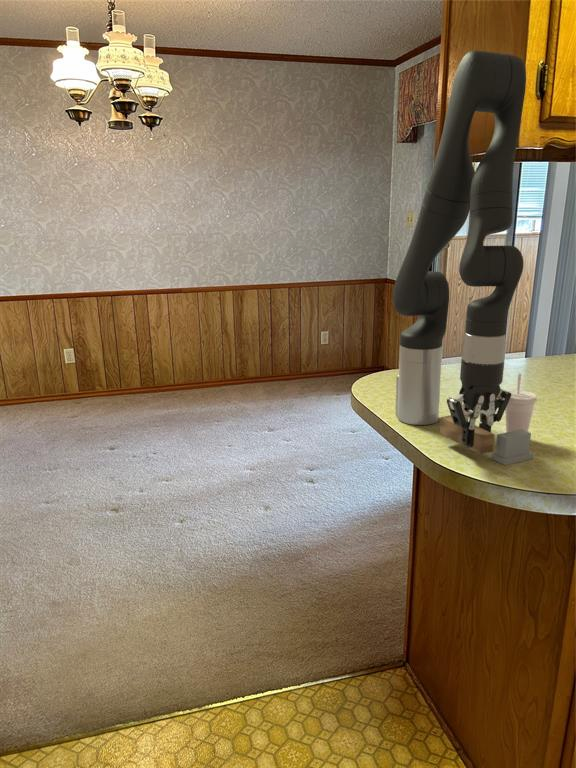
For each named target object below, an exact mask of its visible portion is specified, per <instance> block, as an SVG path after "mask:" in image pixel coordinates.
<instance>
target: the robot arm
mask: <svg viewBox="0 0 576 768" xmlns="http://www.w3.org/2000/svg"><path fill="white" fill-rule="evenodd" d="M451 85H452V86H451V91H450V95H449V99H448V104H447V110H446V115H445V119H444V124H443V128H442V129H443V130H442V134H441V136H440V137H441V138H440V140H439V141H440V142H439V146H438V149H437V153H436V155H435V159H434V163H433V167H432V170H431V173H430V177H429V179H428V181H427V184H426V188H425V189H426V190H425V192H424V195H423V199H422V202H421V206H420V211H419V214H418V217H417V222H416V224H415V228H414V231H413V234H412V238H411V240H410V244H409V246H408V249H407V251H406V254H405V256H404V258H403V261H402V264H401V266H400V269H399V272H398V273H397V276H396V280H395V282H394V286H393V291H392V292H393V293H392V303H393V307H394V310H395V311H396V312H397V314H399V315H401V316H404V317H405V316H406V317H413V316H414V317H416V316H418V318H417V320H416V321H415V322H414V323H413V324H412V325H410V326H409V327H408V328H406V329H403V330H402V331H401V333H400V335H399V352H398V353H399V354H398V356H399V357H398V375H396V381H395V382H396V386H395V388H396V389H395V415H396V416H397V420H399V421H400V422H402V423H405V424H408V425H413V426H414V425H416V426H426V425H432V424H435V423H438V421H439V418H440V397H441V394H440V393H441V375H442V374H441V373H442V357H443V356H442V354H443V339H444V337H445V335H446V333H447V325H448V324H447V321H448V316H449V315H448V314H449V313H448V312H449V308H450V307H449V305H450V284H449V282H448V280H447V277H446V275H444V274H443V273H442V272H440V271H434V270H433V271H432V270H431V271H430V268H431V266H432V264H433V263H434V261H435V259H436V258H437V256H438V255H439V254H440V253H441V251H442V250H443V249H444V248H446V246H447V245H448V244H449V243H450V242H451V240H453V239H454V238H455V236H456V235H457V234H458V233H459V232H460V231H461V229H462V228H463V227H464V225H465V223H466V221H467V220H468V217H469V226H468V231H467V236H466V242H465V245H464V249H463V251H462V253H461V258H460V260H459V261H460V262H459V268H458V269H459V270H458V271H459V276H460V279H461V281H462V282H463V283H464V284H465V285H466V286H467V287H476V288H478V287H479V288H480V287H495V288H494V289H493V292H492V293H491V294H489V295H488V296H485V297H482V298H477V299H474V300H472V301H470V302H469V303H468V304H467V307H466V316H465V327H464V337H463V342H462V349H461V359H460V360H461V361H460V374H459V379H460V382H461V388H460V390H459V392H458V395H456V396H455V397H453V398H452V397H448V398H447V399H446V403H447V406H448V409H449V413H450V415H451V416H452V419H453V423H454V424H456V425H458V426H460V427H461V428H462V443H463V445H465V446H466V447H465V446H464V447H465V448H467V447H468V449H469V448H471V447H473V443H474V433H475V430H474V426H475V425H476V421H477V419H479V423H478V427H480V428H482V429H484V430H486V431H488V432H491V433H492V426H493V425H494V424H495V423H496V422H501V420H502V418H503V416H504V414H505V409H506V407H507V404H508V402H509V400H510V398H511V393H510V392H508V391H507V390H504V389H501V386H500V385H502V383H503V379H504V369H505V358H506V351H507V350H506V347H507V346H506V340H507V339H506V337H507V336H506V331H507V324H508V323H507V322H508V313H509V309H510V307H511V304H512V300H513V298H514V294H515V292H516V290H517V287H518V284H519V282H520V280H521V277H522V274H523V272H524V267H525V266H524V263H525V262H524V258H523V257H524V256H523V254H522V252H521V250H520V249H519V248H518V247H516V246H514V245H484V242H485V239H486V237H487V236H490V235H493V234H499V233H503V232H505V231H508V229H510V228H511V226H512V225H513V224H512V223H513V205H514V203H513V198H514V197H513V191H514V190H513V189H514V187H513V183H514V168H515V167H514V166H515V165H514V164H515V158H516V151H517V145H518V140H519V135H520V129H521V128H520V127H521V122H522V116H523V109H524V103H525V102H524V101H525V96H526V90H527V89H526V88H527V87H526V86H527V70H526V65H525V62H524V60H523V59H522V58H520V56H518V55H514V54H509V53H501V52H493V51H488V50H486V51H485V50H477V49H476V50H475V49H474V50H471V51H468V52H467V53H466V54H465V55H464V56H463V57H462V59H461V60H460V63H459V64H458V67H457V68H456V72H455V74H454V78H453V83H452V84H451ZM476 112H480V113H492V114H493V116H494V130H493V131H494V132H493V135H492V138H491V141H490V144H489V145H488V148H487V150H486V152H485V153H484V155H483V157H482V158H481V160H480V162H479V163H478V166H477V167H476V169H475V168H474V163H473V161H472V160H473V159H472V157H471V152H470V145H469V139H470V138H469V137H470V130H471V126H472V121H473V118H474V115H475V113H476ZM463 445H462V446H463Z"/></svg>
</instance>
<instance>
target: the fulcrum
mask: <svg viewBox="0 0 576 768" xmlns="http://www.w3.org/2000/svg"><path fill="white" fill-rule="evenodd" d="M496 436H497V437H496V446H495V447H496V448H495V452H493V453H492V452H491V455H490V457H491V458H490V459H492V460H493V461H495V462H498V463H500V464H502V465H504V466H507V465H511V464H515V463H519V462H522V461H527V460H528V461H529V460H532V459H534V452H531V451H530V448H531V447H530V446H531V438H532V437H531V436H532V433H531V432H529V431H528V432H527V431H524V430H522V429H520V430H516V431H511V432H507V433H506V432H503V433H498V434H497V435H496Z"/></svg>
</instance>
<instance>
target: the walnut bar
mask: <svg viewBox="0 0 576 768" xmlns="http://www.w3.org/2000/svg"><path fill="white" fill-rule="evenodd" d="M474 430H475V433H474V443H473V447H471V448H468V447H466V446H465V445H463V443H462V428H461V427H460V426H458V425H456V424H454V423H453V419H452V416H451V414H450V415H445V416H441V417H440V429H439V433H440V434H441V435H443V436H444V437H446V438H448V439H450V440H452V441H454V442H456V443H458V444H460V445H462V446H463V447H465V448H468V449H469V450H471V451H472V452H475V453H477V454H479V455H483V454H488V453H492V452H493V453H494V444H495V433H493V432H492V431H491V432H488V431H486V430H484V429H482V428H480V427H479V425H478V426H477V425H476V424H475V426H474Z"/></svg>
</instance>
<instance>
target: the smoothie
mask: <svg viewBox="0 0 576 768" xmlns="http://www.w3.org/2000/svg"><path fill="white" fill-rule="evenodd" d="M521 381H522V373H521V372H519V373H518V374H517V384H516V390H508V391H507V392H510V393H511V398H510V400H509V402H508V404H507V407H506V409H505V411H504V414H505V429H506V432H505V433H507V432H511V431H516V430H520V429H522V430H524V431H527V432H529V427H530V424H531V420H532V416H533V412H534V408H535V407H534V406H535V403H537V401H538V400H537V396H538V395H536V394H535V393H534V392H533V393H532V392H530V391H526V390H521Z"/></svg>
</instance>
